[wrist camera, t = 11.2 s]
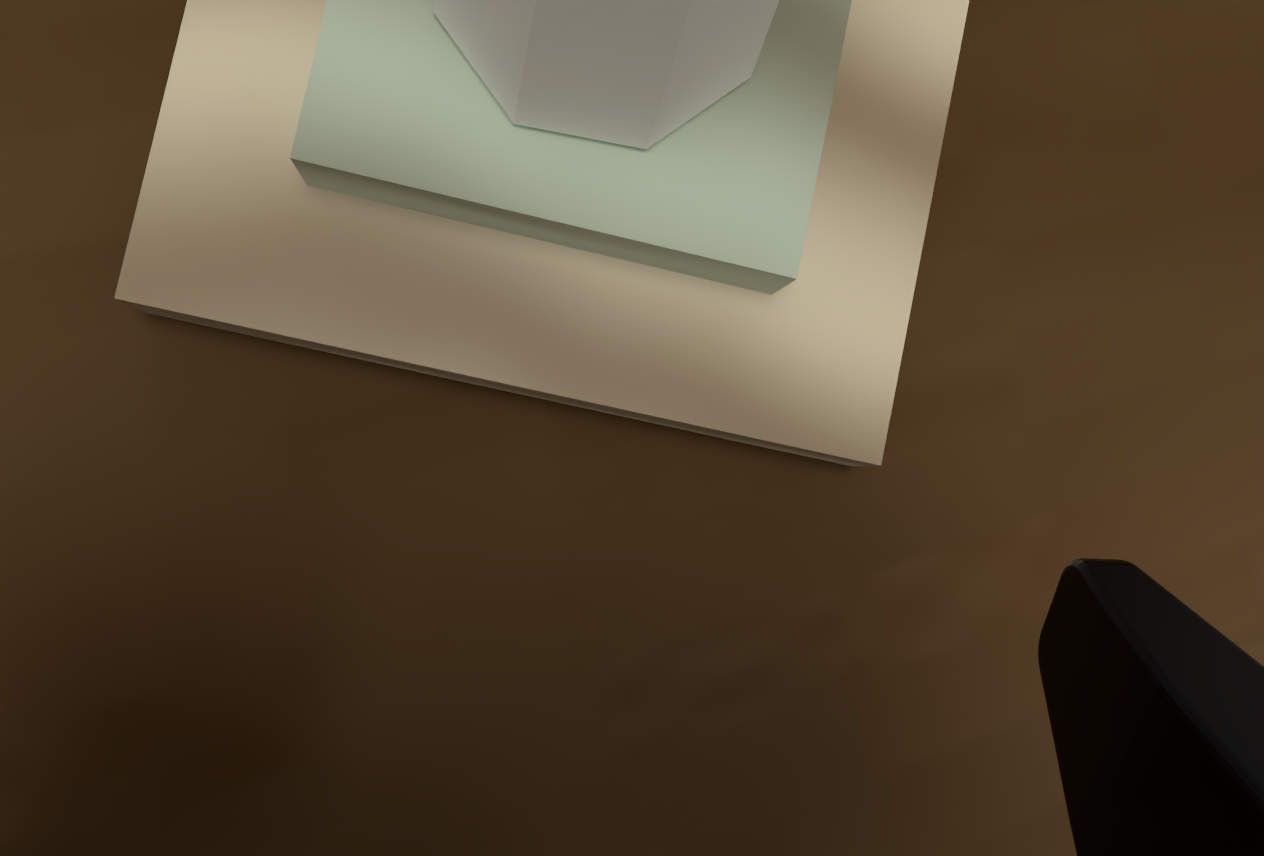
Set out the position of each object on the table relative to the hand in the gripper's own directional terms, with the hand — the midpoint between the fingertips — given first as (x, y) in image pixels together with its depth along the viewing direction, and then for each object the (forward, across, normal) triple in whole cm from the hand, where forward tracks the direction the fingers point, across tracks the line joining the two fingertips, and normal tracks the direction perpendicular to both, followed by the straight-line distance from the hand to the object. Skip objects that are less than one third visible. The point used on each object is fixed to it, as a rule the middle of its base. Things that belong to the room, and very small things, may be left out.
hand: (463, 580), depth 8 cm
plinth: (+14, 0, 0) cm, 14 cm away
